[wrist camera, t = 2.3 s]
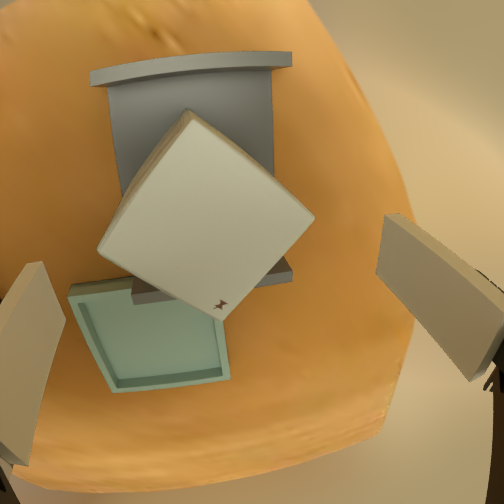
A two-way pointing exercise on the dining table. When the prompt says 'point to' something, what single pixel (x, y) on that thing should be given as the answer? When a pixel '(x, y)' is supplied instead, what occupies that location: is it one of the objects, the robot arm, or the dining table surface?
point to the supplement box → (203, 219)
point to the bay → (201, 103)
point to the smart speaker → (6, 467)
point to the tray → (147, 338)
